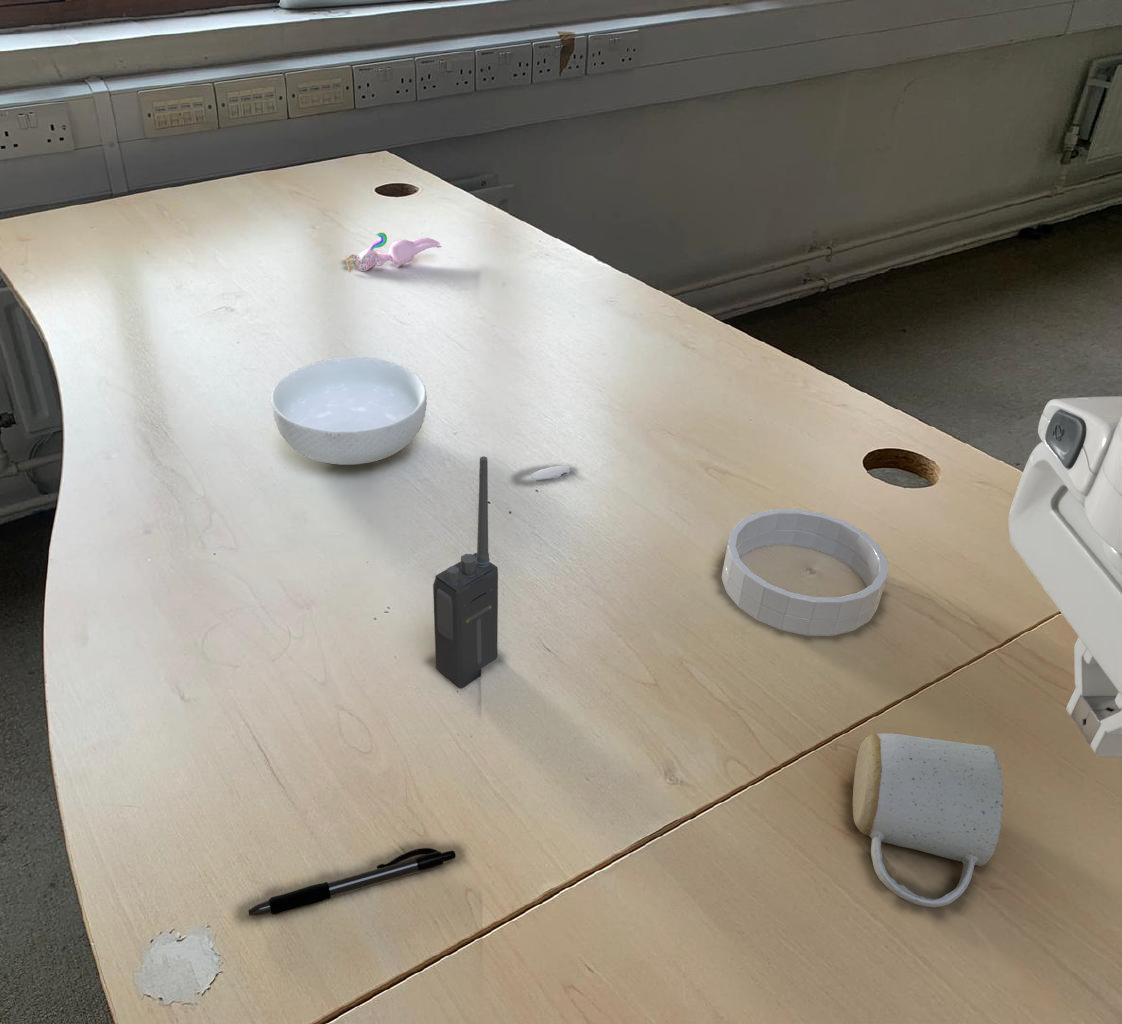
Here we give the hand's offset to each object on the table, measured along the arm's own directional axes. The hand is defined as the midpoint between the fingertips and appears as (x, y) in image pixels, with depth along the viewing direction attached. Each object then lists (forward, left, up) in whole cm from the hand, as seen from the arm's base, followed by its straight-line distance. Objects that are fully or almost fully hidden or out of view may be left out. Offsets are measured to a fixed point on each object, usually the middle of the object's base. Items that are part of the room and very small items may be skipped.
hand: (1096, 734), depth 48 cm
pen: (+38, -5, -21) cm, 44 cm away
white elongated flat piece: (+23, -54, -21) cm, 62 cm away
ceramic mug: (0, -9, -21) cm, 23 cm away
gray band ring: (+1, -36, -21) cm, 42 cm away
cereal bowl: (+44, -61, -21) cm, 78 cm away
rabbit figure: (+43, -115, -21) cm, 125 cm away
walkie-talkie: (+31, -26, -21) cm, 46 cm away
